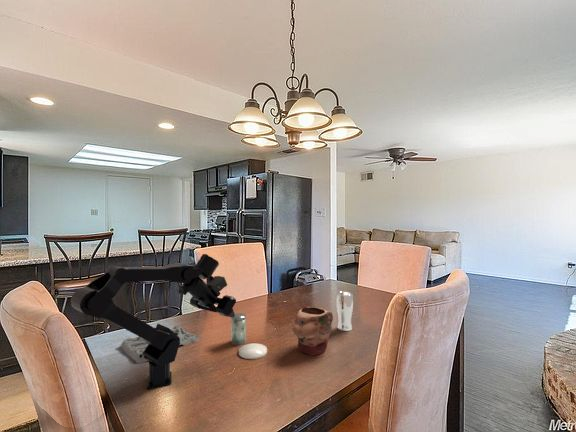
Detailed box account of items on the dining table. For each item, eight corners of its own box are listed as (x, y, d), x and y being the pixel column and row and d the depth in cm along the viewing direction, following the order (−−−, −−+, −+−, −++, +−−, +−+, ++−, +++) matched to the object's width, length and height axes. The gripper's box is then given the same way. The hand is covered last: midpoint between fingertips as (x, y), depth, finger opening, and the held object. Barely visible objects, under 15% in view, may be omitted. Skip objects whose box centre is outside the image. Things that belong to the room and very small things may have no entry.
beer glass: (356, 328, 123) (356, 293, 123) (347, 333, 118) (347, 296, 118) (342, 323, 128) (342, 290, 128) (333, 328, 123) (333, 293, 122)
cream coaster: (270, 355, 99) (270, 353, 99) (242, 361, 95) (242, 359, 95) (262, 343, 108) (262, 341, 108) (236, 348, 104) (236, 346, 104)
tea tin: (247, 343, 108) (247, 317, 108) (232, 346, 106) (232, 319, 106) (244, 337, 113) (244, 312, 113) (229, 340, 111) (229, 314, 111)
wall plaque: (139, 366, 93) (139, 354, 93) (119, 348, 106) (118, 337, 106) (203, 342, 110) (203, 332, 110) (179, 329, 123) (179, 320, 123)
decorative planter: (317, 334, 117) (317, 300, 116) (343, 343, 108) (343, 306, 108) (284, 351, 102) (284, 312, 102) (311, 363, 94) (311, 321, 94)
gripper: (231, 273, 94) (254, 298, 103) (196, 267, 105) (220, 290, 114) (212, 303, 88) (239, 327, 97) (177, 293, 99) (204, 316, 108)
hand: (225, 313), depth 104 cm, fingers open, 9 cm apart
